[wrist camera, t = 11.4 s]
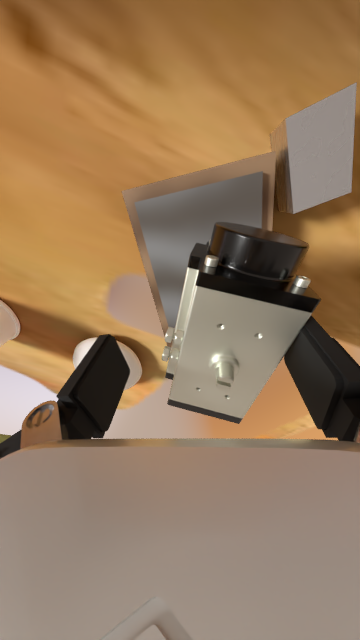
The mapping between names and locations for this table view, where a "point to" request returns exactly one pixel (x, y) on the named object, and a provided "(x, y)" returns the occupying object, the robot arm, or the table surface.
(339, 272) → the table surface
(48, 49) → the table surface
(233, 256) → the pneumatic valve
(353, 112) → the grey rectangular block
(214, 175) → the stand
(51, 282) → the table surface
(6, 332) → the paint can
